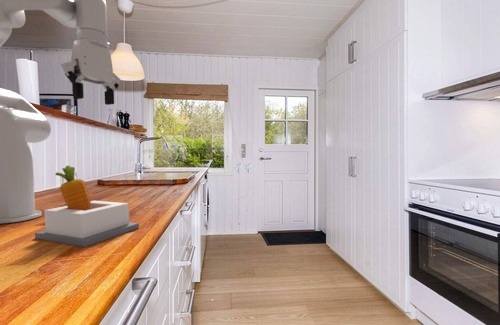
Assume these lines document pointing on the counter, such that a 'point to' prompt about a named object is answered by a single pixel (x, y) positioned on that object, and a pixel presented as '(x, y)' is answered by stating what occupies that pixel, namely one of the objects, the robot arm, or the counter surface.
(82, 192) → the carrot
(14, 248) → the counter surface
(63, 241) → the socket stand
